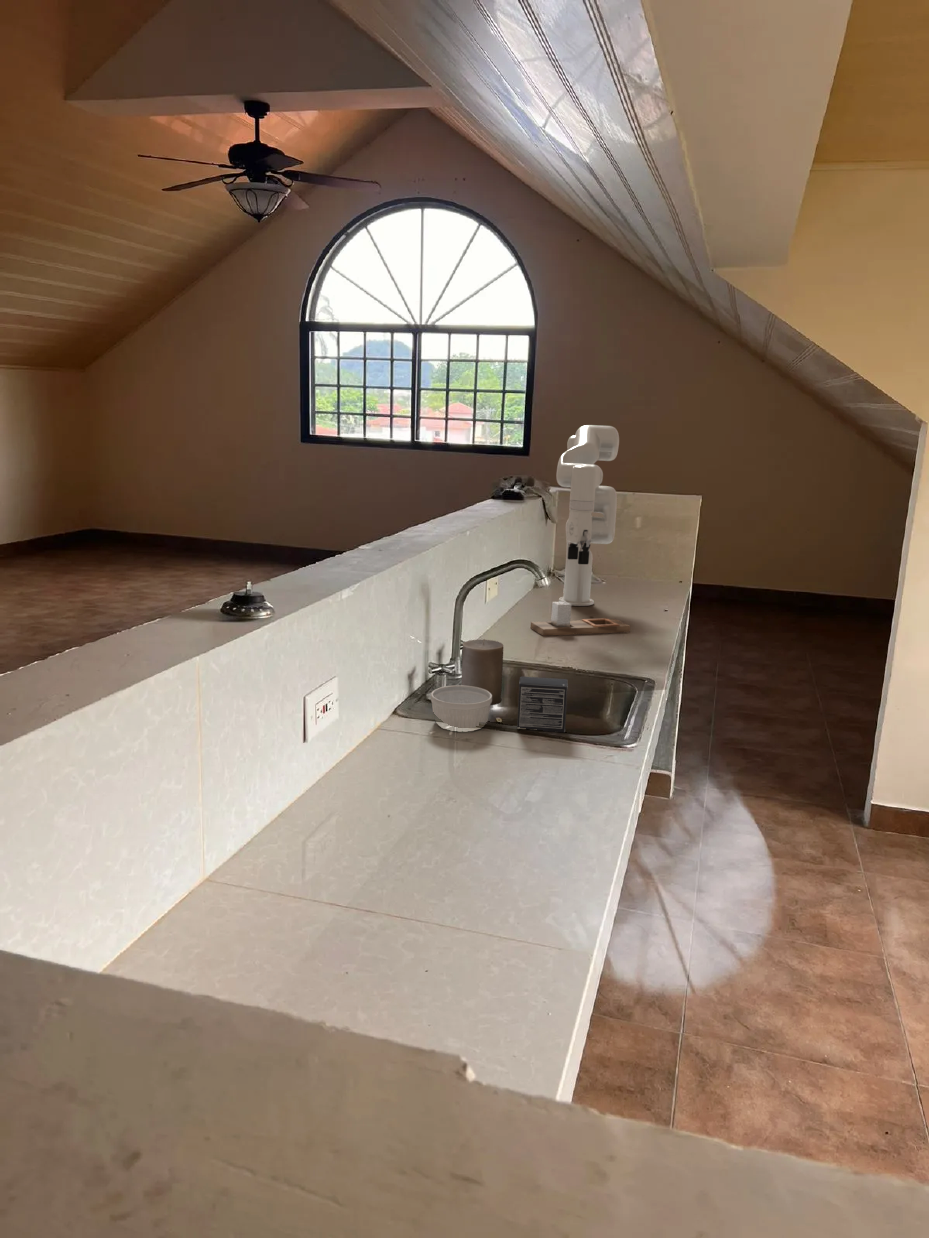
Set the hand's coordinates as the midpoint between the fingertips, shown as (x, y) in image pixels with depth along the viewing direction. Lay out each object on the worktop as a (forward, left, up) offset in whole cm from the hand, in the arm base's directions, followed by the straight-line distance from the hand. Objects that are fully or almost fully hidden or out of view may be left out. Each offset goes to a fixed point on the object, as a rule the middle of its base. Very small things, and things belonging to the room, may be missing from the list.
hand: (577, 561), depth 280 cm
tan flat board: (-1, +3, -22) cm, 23 cm away
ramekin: (+75, -62, -23) cm, 100 cm away
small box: (+80, -45, -23) cm, 94 cm away
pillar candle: (+60, -52, -23) cm, 82 cm away
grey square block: (-1, -4, -22) cm, 23 cm away
